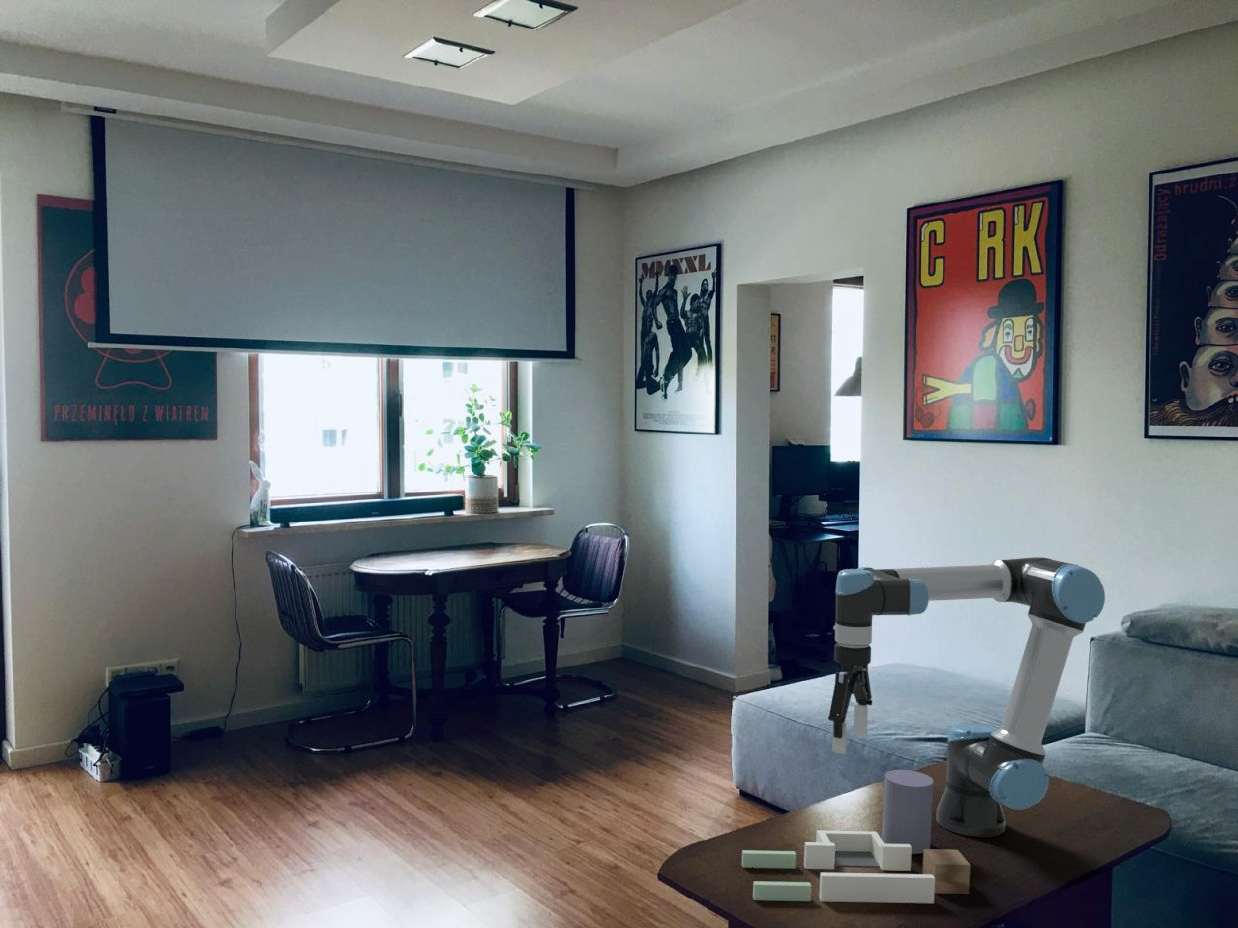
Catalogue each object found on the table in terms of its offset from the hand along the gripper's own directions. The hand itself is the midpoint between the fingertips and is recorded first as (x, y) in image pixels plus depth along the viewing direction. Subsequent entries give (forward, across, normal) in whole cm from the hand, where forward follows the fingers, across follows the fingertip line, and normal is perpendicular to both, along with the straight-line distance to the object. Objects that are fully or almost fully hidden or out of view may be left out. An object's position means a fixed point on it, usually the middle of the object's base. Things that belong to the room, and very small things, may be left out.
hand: (849, 743), depth 215 cm
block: (+25, 0, +21) cm, 33 cm away
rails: (+24, +19, -8) cm, 32 cm away
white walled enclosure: (+25, +6, +5) cm, 26 cm away
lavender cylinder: (+25, -14, +8) cm, 30 cm away
